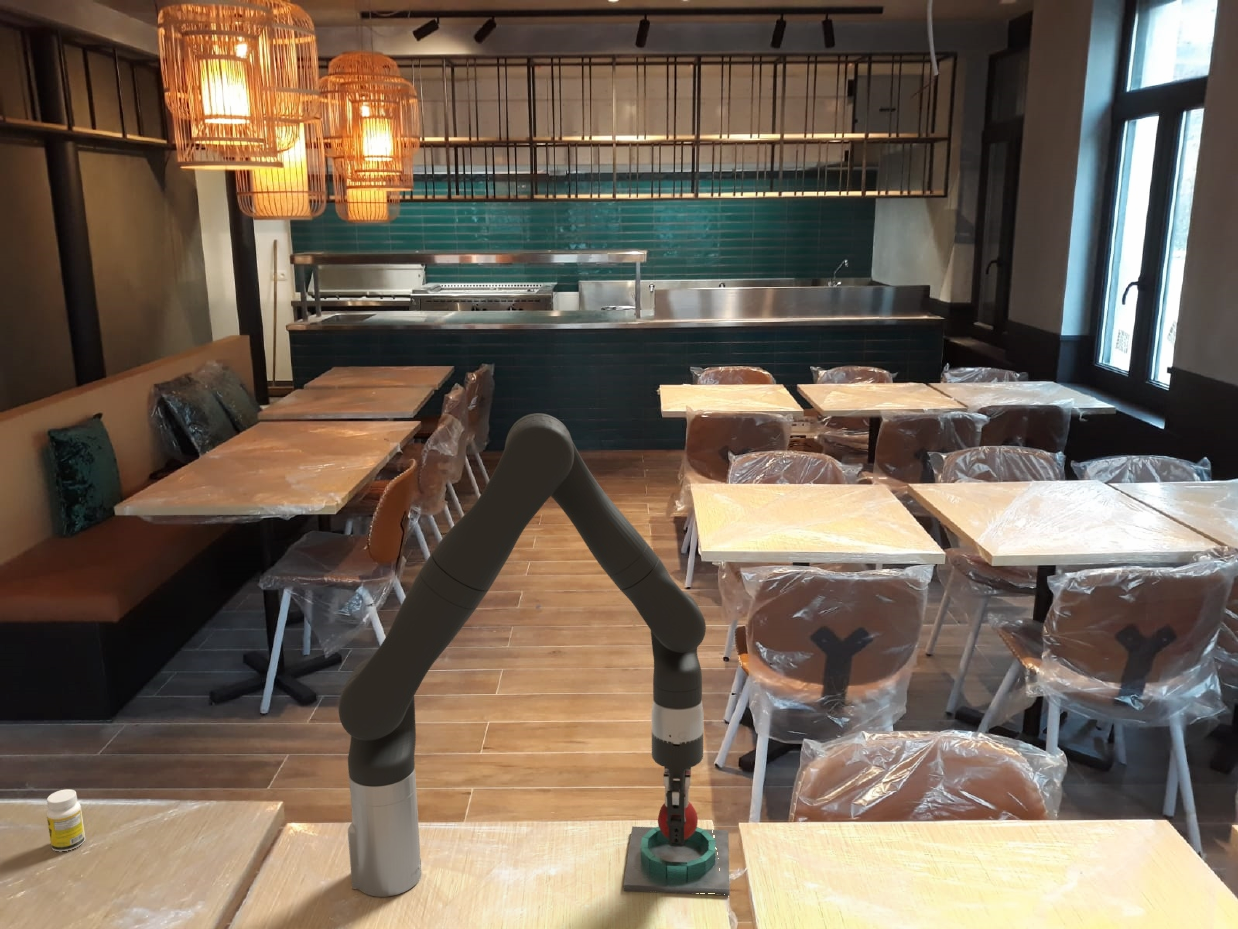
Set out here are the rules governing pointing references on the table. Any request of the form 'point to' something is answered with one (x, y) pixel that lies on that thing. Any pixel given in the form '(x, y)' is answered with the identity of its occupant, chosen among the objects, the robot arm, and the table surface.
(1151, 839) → the table surface
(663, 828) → the onion
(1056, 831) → the table surface
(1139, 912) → the table surface
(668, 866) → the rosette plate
